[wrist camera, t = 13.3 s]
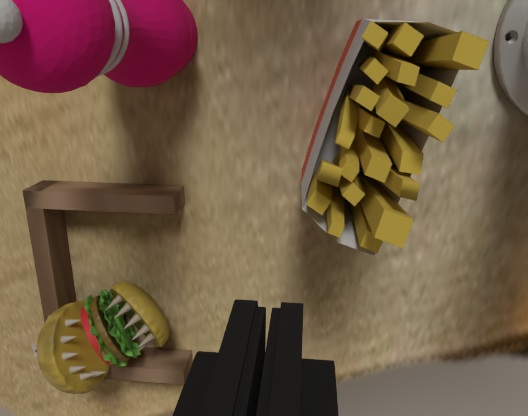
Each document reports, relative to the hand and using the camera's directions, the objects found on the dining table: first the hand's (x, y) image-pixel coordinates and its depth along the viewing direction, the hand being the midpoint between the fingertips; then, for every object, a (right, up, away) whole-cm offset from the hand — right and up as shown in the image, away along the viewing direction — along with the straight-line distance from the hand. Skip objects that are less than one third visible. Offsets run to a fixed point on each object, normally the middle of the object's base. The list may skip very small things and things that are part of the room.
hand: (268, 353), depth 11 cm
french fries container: (+7, +12, +24) cm, 28 cm away
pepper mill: (-8, +17, +24) cm, 31 cm away
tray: (-12, -3, +31) cm, 34 cm away
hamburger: (-9, -5, +29) cm, 31 cm away
